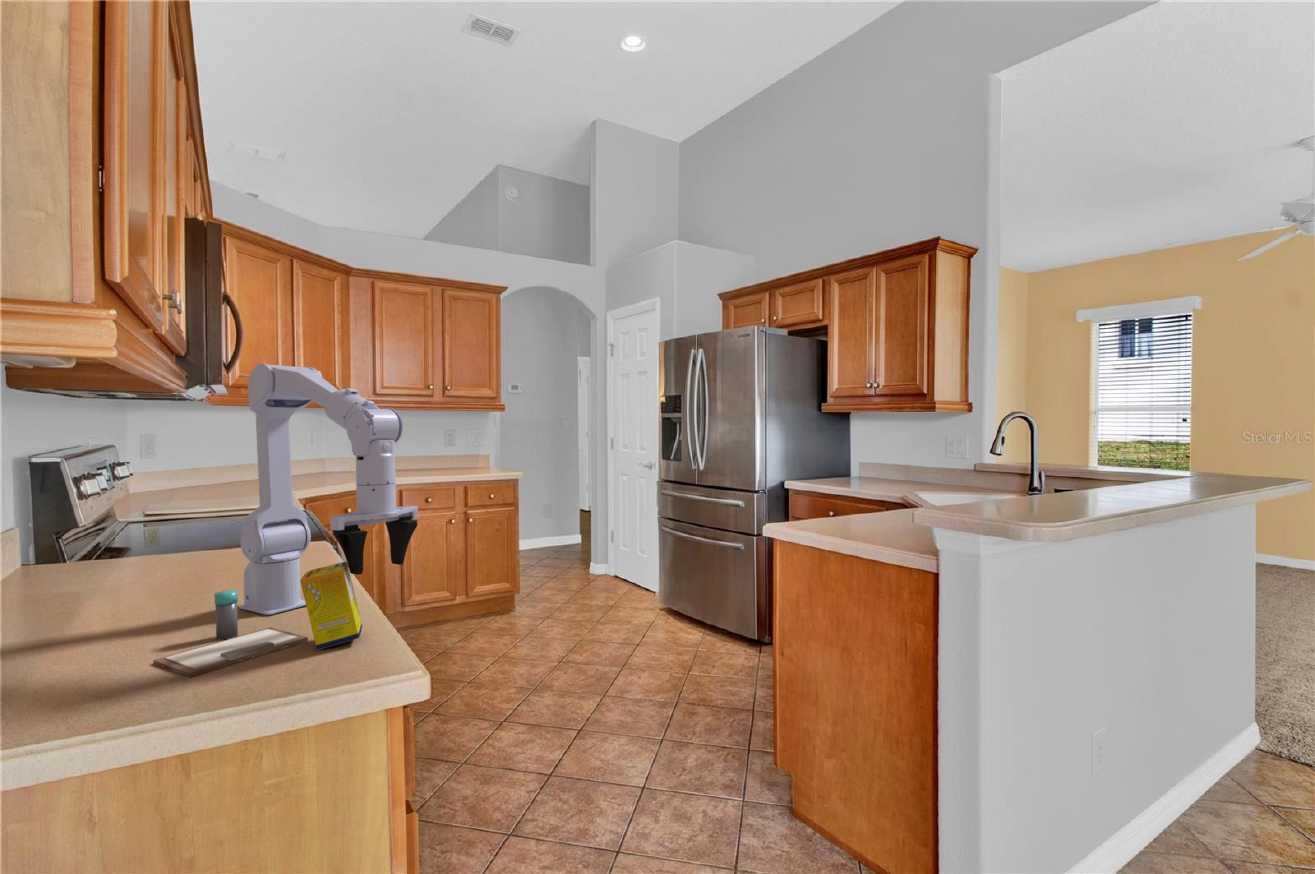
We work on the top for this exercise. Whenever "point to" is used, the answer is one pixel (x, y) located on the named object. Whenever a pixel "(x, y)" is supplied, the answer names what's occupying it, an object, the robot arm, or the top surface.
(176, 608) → the top surface
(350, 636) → the supplement box
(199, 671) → the clipboard
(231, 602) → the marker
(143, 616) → the top surface
